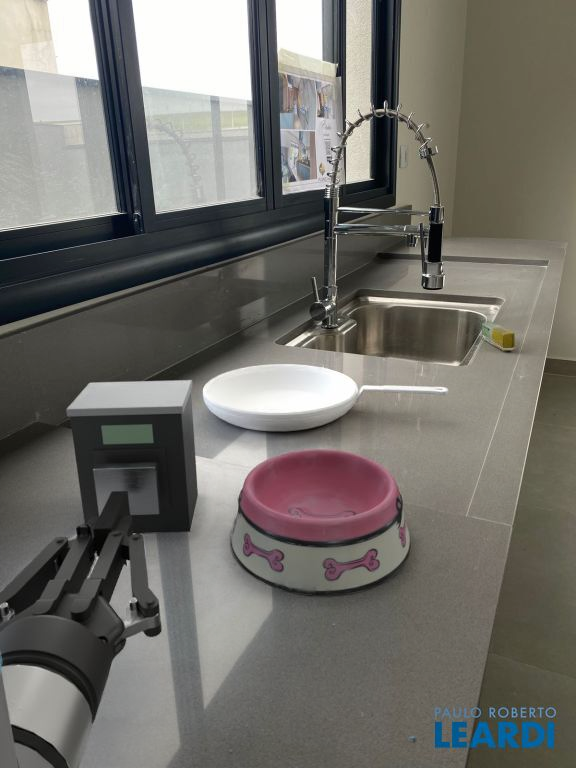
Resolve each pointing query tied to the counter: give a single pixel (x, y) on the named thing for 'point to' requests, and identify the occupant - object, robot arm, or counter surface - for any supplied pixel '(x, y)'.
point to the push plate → (129, 485)
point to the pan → (288, 396)
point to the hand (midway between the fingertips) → (121, 503)
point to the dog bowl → (320, 523)
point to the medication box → (498, 335)
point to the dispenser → (139, 444)
